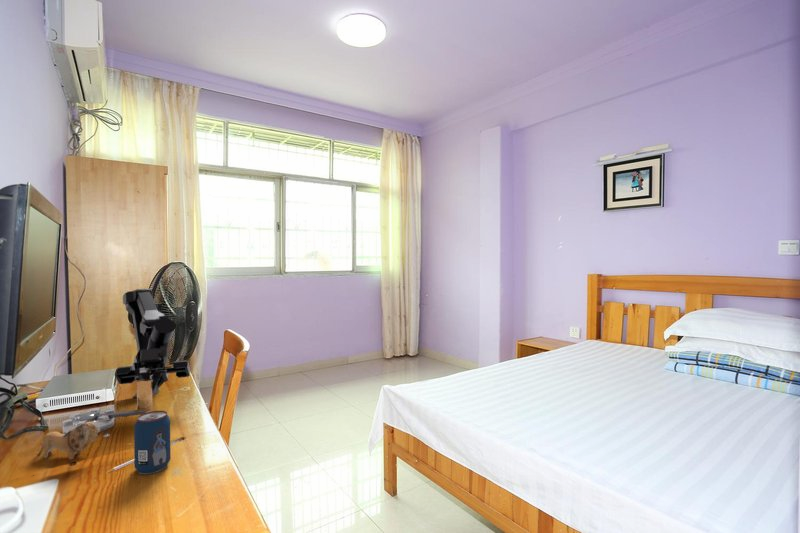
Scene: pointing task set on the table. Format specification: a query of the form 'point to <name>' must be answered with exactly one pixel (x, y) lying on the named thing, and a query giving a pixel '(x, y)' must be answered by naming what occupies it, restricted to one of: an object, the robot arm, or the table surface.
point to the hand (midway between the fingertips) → (149, 398)
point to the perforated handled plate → (107, 417)
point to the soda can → (152, 442)
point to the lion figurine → (70, 440)
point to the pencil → (133, 459)
